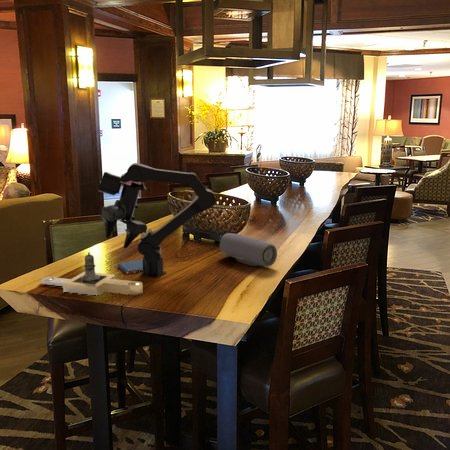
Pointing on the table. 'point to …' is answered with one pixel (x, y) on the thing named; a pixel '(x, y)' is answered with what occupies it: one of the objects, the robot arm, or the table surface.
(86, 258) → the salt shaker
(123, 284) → the square wooden loop
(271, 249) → the bluetooth speaker
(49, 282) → the cream handled frame
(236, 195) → the table surface
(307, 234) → the table surface
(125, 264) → the woven mat
